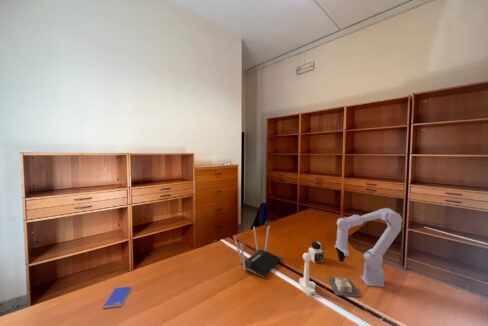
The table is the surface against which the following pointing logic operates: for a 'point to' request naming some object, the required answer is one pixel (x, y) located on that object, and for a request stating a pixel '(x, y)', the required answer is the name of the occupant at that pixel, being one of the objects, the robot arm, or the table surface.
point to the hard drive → (117, 297)
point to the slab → (343, 285)
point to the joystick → (307, 277)
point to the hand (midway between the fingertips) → (341, 261)
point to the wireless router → (258, 259)
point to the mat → (338, 293)
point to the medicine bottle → (316, 252)
